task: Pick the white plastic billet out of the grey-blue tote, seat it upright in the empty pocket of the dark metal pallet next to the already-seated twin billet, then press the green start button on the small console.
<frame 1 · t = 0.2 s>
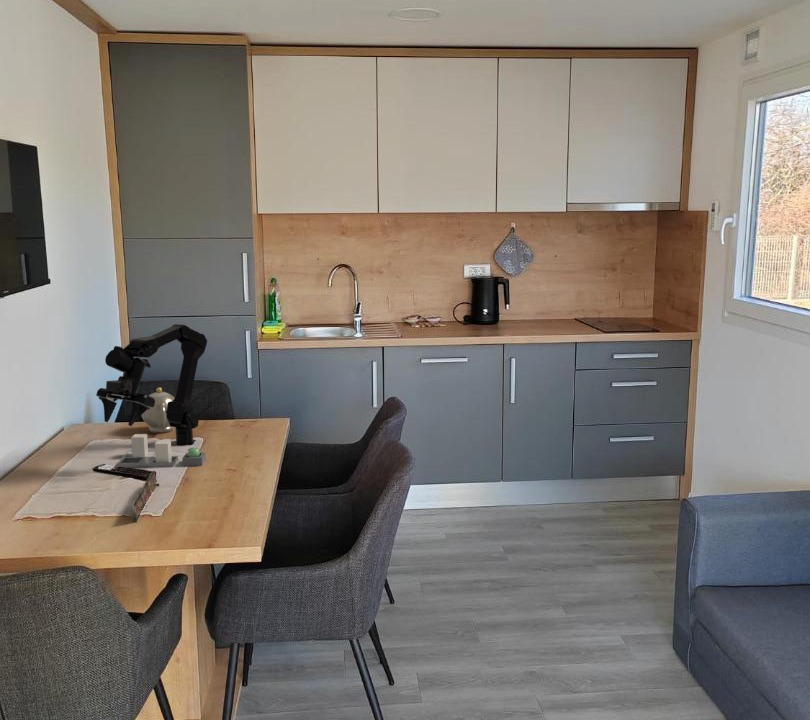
hand: (117, 423, 250), 14 cm above the table, fingers open, 9 cm apart
billet: (140, 456, 262), resting on tote
start button: (193, 454, 253), point 4 cm above the table, slide at 0.0 cm
console: (194, 465, 254), on the table
seated billet: (163, 463, 253), point 1 cm above the table, touching pallet
tote: (140, 457, 262), on the table
teapot: (162, 432, 296), on the table
pallet: (148, 466, 253), on the table
incense holder: (147, 504, 221), on the table
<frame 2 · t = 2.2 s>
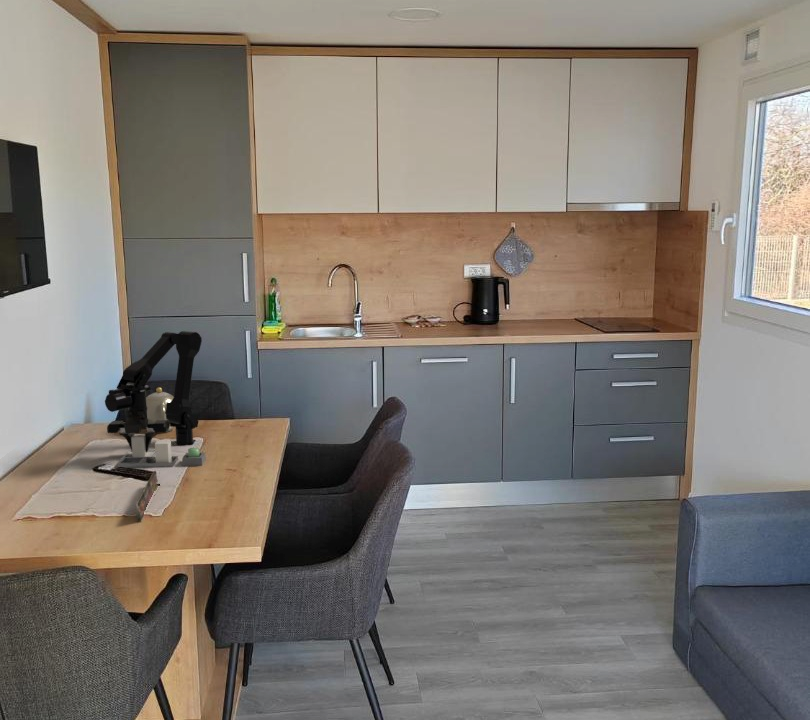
hand: (140, 451, 262), 2 cm above the table, fingers closed on billet, 4 cm apart
billet: (140, 456, 262), resting on tote, touching gripper
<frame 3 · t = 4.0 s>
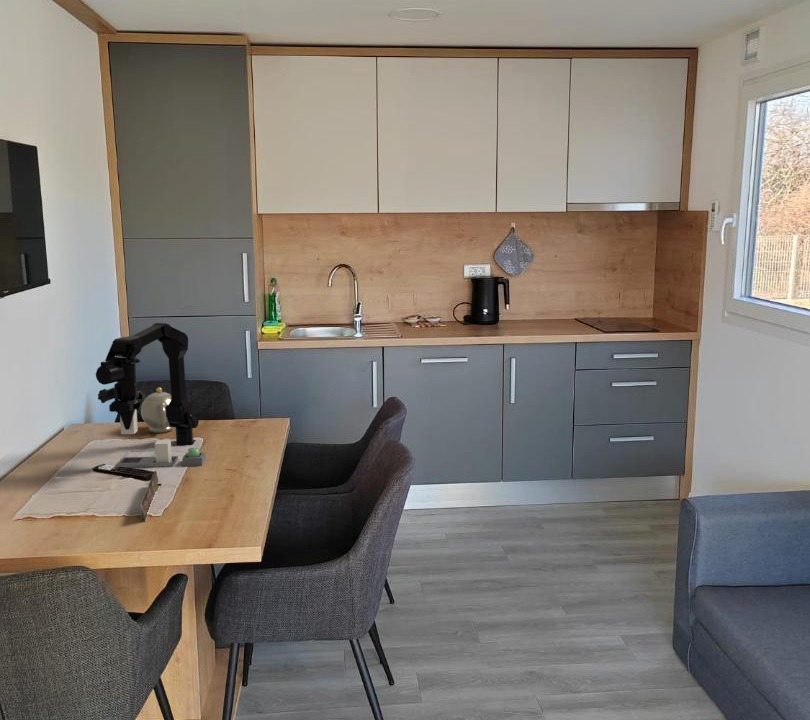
hand: (129, 427, 251), 13 cm above the table, fingers closed on billet, 4 cm apart
billet: (129, 432, 251), point 11 cm above the table, touching gripper
when the fingers open (3 cm above the table, at t = 6.0 s): billet stays where it is, resting on pallet.
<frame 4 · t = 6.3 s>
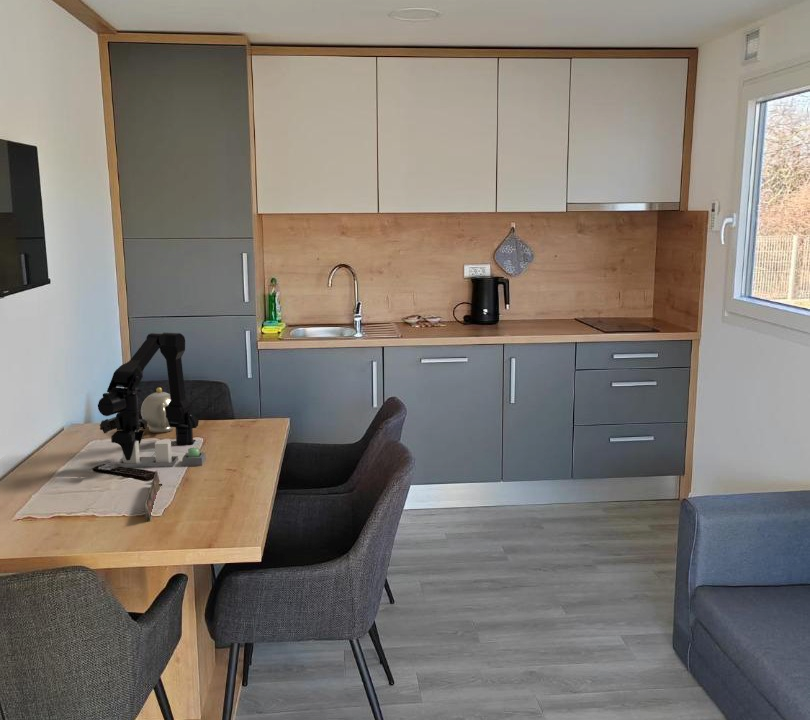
hand: (131, 457, 252), 3 cm above the table, fingers open, 7 cm apart
billet: (131, 464, 252), point 1 cm above the table, touching pallet
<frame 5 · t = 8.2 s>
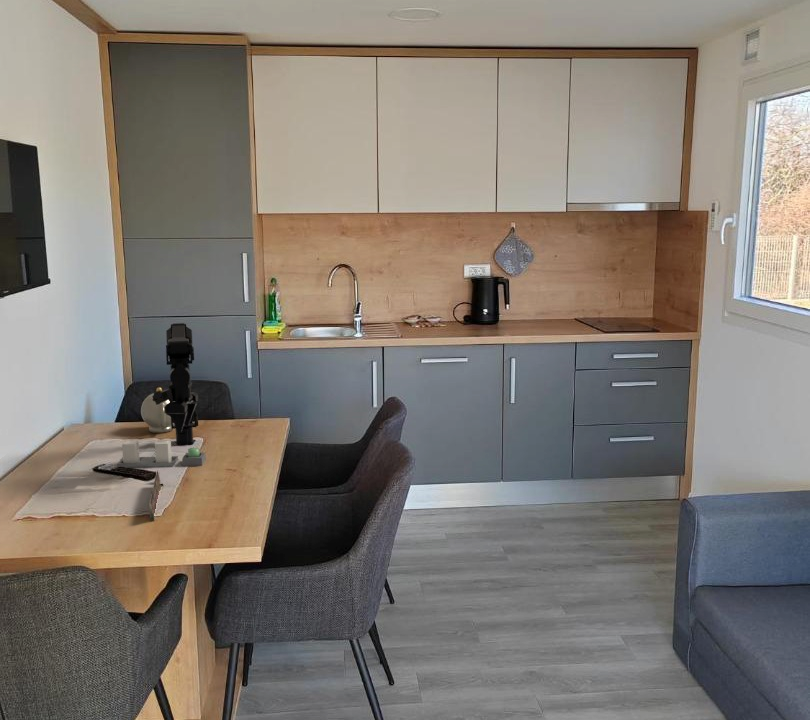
hand: (183, 429, 251), 12 cm above the table, fingers open, 9 cm apart
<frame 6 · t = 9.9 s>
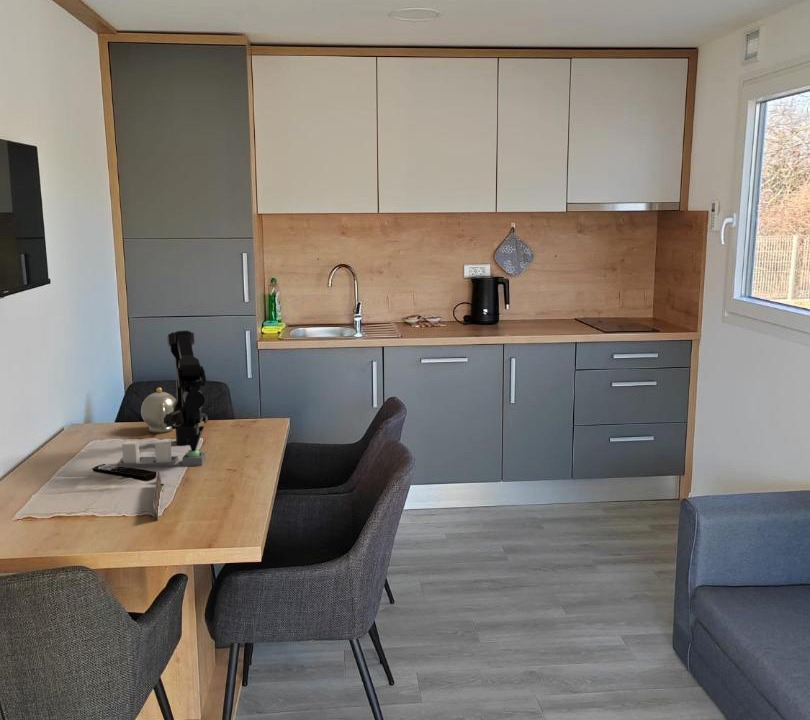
hand: (193, 450, 253), 5 cm above the table, fingers closed, pressing on start button
start button: (194, 455, 253), point 3 cm above the table, slide at 0.5 cm, touching gripper
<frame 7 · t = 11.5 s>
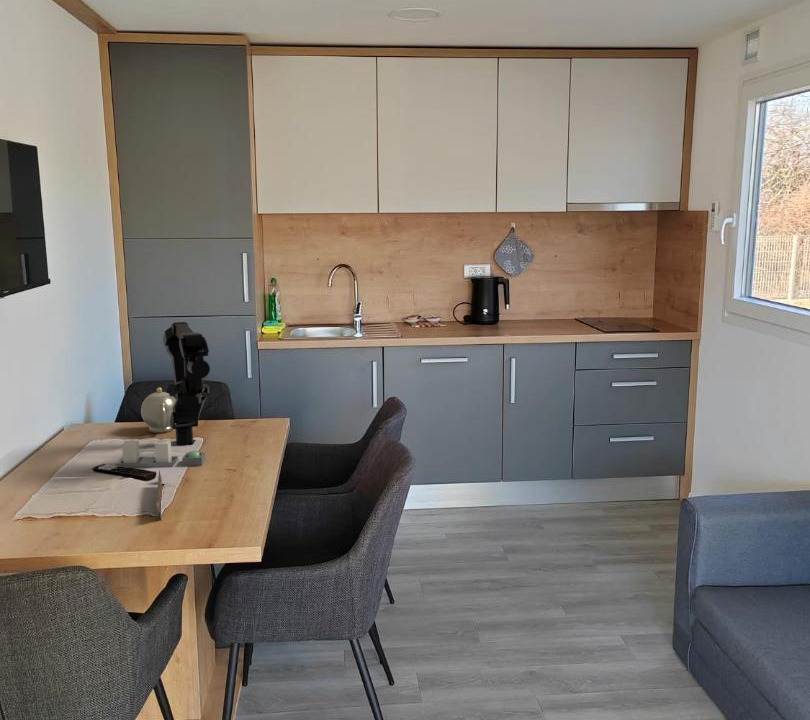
hand: (195, 420, 259), 13 cm above the table, fingers closed
start button: (194, 457, 253), point 3 cm above the table, slide at 1.1 cm
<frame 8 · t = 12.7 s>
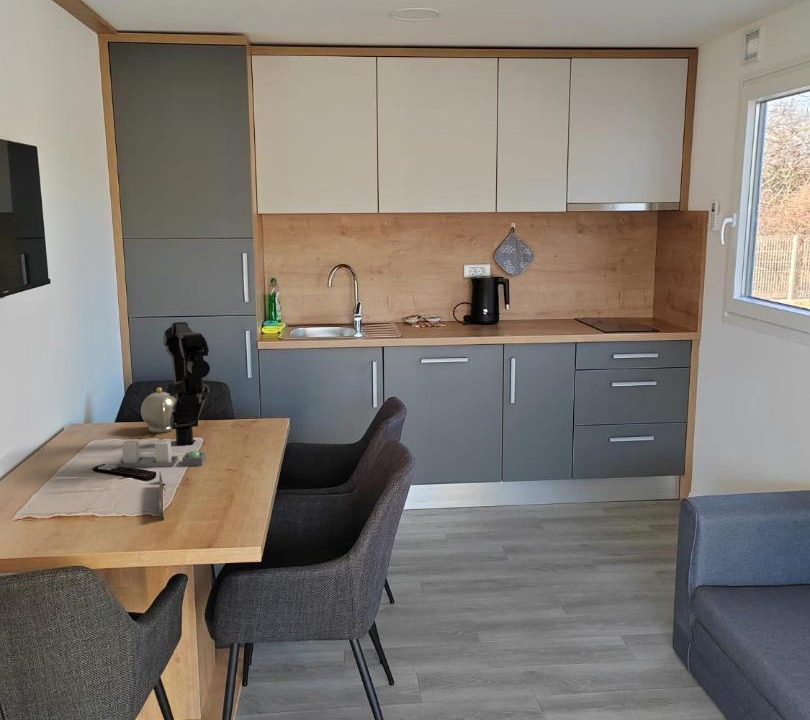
hand: (196, 420, 259), 13 cm above the table, fingers closed
at the end: billet 0.0 cm from the target spot on the pallet, point 1.0 cm above the pallet's base; billet tilted 0°; start button slide at 1.1 cm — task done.
